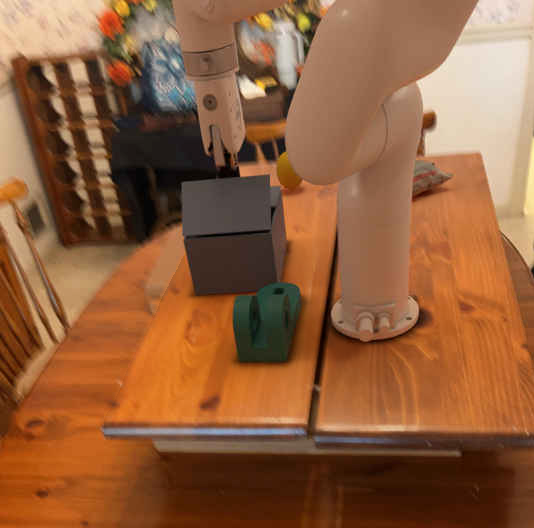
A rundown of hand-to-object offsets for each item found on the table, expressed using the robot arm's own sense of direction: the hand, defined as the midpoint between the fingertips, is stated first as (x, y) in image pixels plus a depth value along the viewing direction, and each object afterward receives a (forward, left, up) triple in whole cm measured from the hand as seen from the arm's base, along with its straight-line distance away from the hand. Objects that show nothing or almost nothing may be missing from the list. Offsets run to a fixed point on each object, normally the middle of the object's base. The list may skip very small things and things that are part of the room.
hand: (232, 194), depth 102 cm
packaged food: (+26, -30, -12) cm, 41 cm away
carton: (0, 0, -12) cm, 12 cm away
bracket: (-19, -7, -12) cm, 24 cm away
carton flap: (-6, 0, +1) cm, 6 cm away
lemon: (+32, -6, -12) cm, 34 cm away
